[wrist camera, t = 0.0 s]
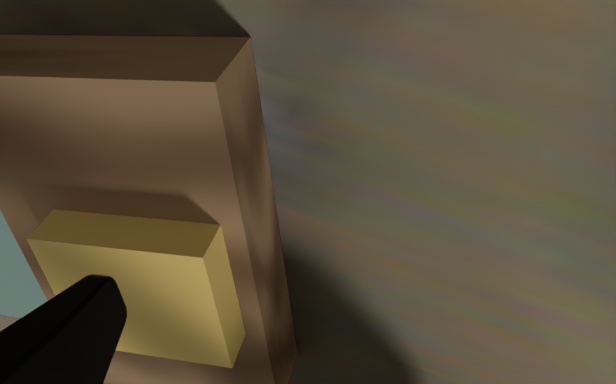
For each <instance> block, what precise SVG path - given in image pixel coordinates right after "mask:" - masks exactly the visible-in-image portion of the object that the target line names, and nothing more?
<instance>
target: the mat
mask: <svg viewBox="0 0 616 384" xmlns="http://www.w3.org/2000/svg"><path fill="white" fill-rule="evenodd" d="M45 302H47V299H46V297H45V295H44V293H43V291H42V289H41V287H40V285H39V283H38V281H37V279H36V278H35V276H34V274H33V272H32V270H31V268H30V266H29V264H28V262H27V260H26V258H25V256H24V255H23V253H22V251H21V249H20V247H19V245H18V243H17V241H16V239H15V237H14V235H13V233H12V232H11V230H10V228H9V226H8V224H7V222H6V220H5V218H4V216H3V214H2V212H1V210H0V315H7V316H13V317H20V318H22V317H24V316H25V315H27V314H28V313H30V312H31V311H33V310H34V309H36V308H37V307H39V306H41V305H42V304H44V303H45Z"/></svg>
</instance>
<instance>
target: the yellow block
mask: <svg viewBox="0 0 616 384" xmlns="http://www.w3.org/2000/svg"><path fill="white" fill-rule="evenodd" d="M27 241H28V243H29V245H30V247H31V249H32V251H33V253H34V255H35V257H36V259H37V261H38V263H39V265H40V267H41V269H42V271H43V273H44V275H45V276H46V278H47V280H48V282H49V284H50V286H51V288H52V290H53V292H54V294H55V296H56V295H58V294H59V293H61V292H62V291H64V290H65V289H67V288H68V287H70V286H71V285H73V284H74V283H76V282H78V281H79V280H81V279H82V278H84V277H86V276H88V275H91V274H96V275H104V276H110V277H112V278H114V279H115V281H116V283H117V285H118V288H119V290H120V293H121V295H122V297H123V300H124V302H125V305H126V308H127V319H126V323H125V326H124V329H123V331H122V334H121V337H120V339H119V342H118V345H117V347H116V351H123V352H129V353H136V354H142V355H149V356H155V357H162V358H168V359H175V360H181V361H188V362H194V363H201V364H207V365H214V366H220V367H227V368H233V365H234V362H235V360H236V357H237V355H238V352H239V350H240V347H241V345H242V342H243V340H244V337H245V335H246V333H245V329H244V324H243V320H242V316H241V311H240V307H239V302H238V298H237V294H236V289H235V285H234V281H233V276H232V272H231V267H230V263H229V259H228V254H227V250H226V245H225V241H224V237H223V232H222V228H221V225H218V224H207V223H196V222H185V221H175V220H164V219H153V218H142V217H131V216H120V215H109V214H98V213H88V212H77V211H66V210H55V209H54V210H53V211H52V212H51V213H50V214H49V215H48V216H47V217H46V218H45V219H44V221H43V222H42V223H41V224H40V225H39V226H38V227H37V228H36V229H35V230H34V231H33V232H32V234H31V235H30V236H29V237H28V238H27Z"/></svg>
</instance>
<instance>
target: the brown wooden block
mask: <svg viewBox="0 0 616 384" xmlns="http://www.w3.org/2000/svg"><path fill="white" fill-rule="evenodd" d="M54 209H55V210H66V211H77V212H88V213H98V214H109V215H120V216H131V217H142V218H153V219H164V220H175V221H185V222H196V223H207V224H218V225H221V228H222V232H223V237H224V241H225V245H226V250H227V254H228V259H229V263H230V267H231V272H232V276H233V281H234V285H235V289H236V294H237V298H238V302H239V307H240V311H241V316H242V320H243V324H244V329H245V333H246V335H245V337H244V340H243V342H242V345H241V347H240V350H239V352H238V355H237V357H236V360H235V362H234V365H233V368H227V367H220V366H214V365H207V364H201V363H194V362H188V361H181V360H175V359H168V358H162V357H155V356H149V355H142V354H136V353H129V352H123V351H116V350H115V353H114V356H113V358H112V361H111V364H110V366H109V369H108V372H107V375H106V377H105V380H104V383H109V384H289V381H290V377H291V374H292V371H293V367H294V364H295V360H296V357H297V354H298V353H297V347H296V340H295V333H294V326H293V319H292V313H291V306H290V299H289V292H288V286H287V279H286V272H285V265H284V259H283V252H282V245H281V238H280V232H279V225H278V218H277V211H276V205H275V198H274V191H273V184H272V177H271V171H270V164H269V157H268V150H267V144H266V137H265V130H264V123H263V117H262V110H261V103H260V96H259V90H258V83H257V76H256V69H255V63H254V56H253V49H252V42H251V37H195V36H95V35H0V210H1V212H2V214H3V216H4V218H5V220H6V222H7V224H8V226H9V228H10V230H11V232H12V233H13V235H14V237H15V239H16V241H17V243H18V245H19V247H20V249H21V251H22V253H23V255H24V256H25V258H26V260H27V262H28V264H29V266H30V268H31V270H32V272H33V274H34V276H35V278H36V279H37V281H38V283H39V285H40V287H41V289H42V291H43V293H44V295H45V297H46V299H47V301H48V300H50V299H51V298H53V297H54V296H55V294H54V292H53V290H52V288H51V286H50V284H49V282H48V280H47V278H46V276H45V275H44V273H43V271H42V269H41V267H40V265H39V263H38V261H37V259H36V257H35V255H34V253H33V251H32V249H31V247H30V245H29V243H28V241H27V238H28V237H29V236H30V235H31V234H32V232H33V231H34V230H35V229H36V228H37V227H38V226H39V225H40V224H41V223H42V222H43V221H44V219H45V218H46V217H47V216H48V215H49V214H50V213H51V212H52V211H53V210H54Z"/></svg>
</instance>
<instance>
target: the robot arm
mask: <svg viewBox="0 0 616 384" xmlns="http://www.w3.org/2000/svg"><path fill="white" fill-rule="evenodd" d="M126 319H127V308H126V305H125V302H124V300H123V297H122V295H121V293H120V290H119V288H118V285H117V283H116V281H115V279H114V278H112V277H110V276H104V275H96V274H91V275H88V276H86V277H84V278H82V279H81V280H79V281H78V282H76V283H74V284H73V285H71V286H70V287H68V288H67V289H65V290H64V291H62V292H61V293H59V294H58V295H56V296H54V297H53V298H51V299H50V300H48V301H47V302H45V303H44V304H42V305H41V306H39V307H37V308H36V309H34V310H33V311H31V312H30V313H28V314H27V315H25V316H24V317H22V318H20V319H19V320H17V321H16V322H14V323H13V324H11V325H10V326H8V327H7V328H5V329H3V330H2V331H0V384H103V383H104V380H105V377H106V375H107V372H108V369H109V366H110V364H111V361H112V358H113V356H114V353H115V350H116V347H117V345H118V342H119V339H120V337H121V334H122V331H123V329H124V326H125V323H126Z"/></svg>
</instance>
